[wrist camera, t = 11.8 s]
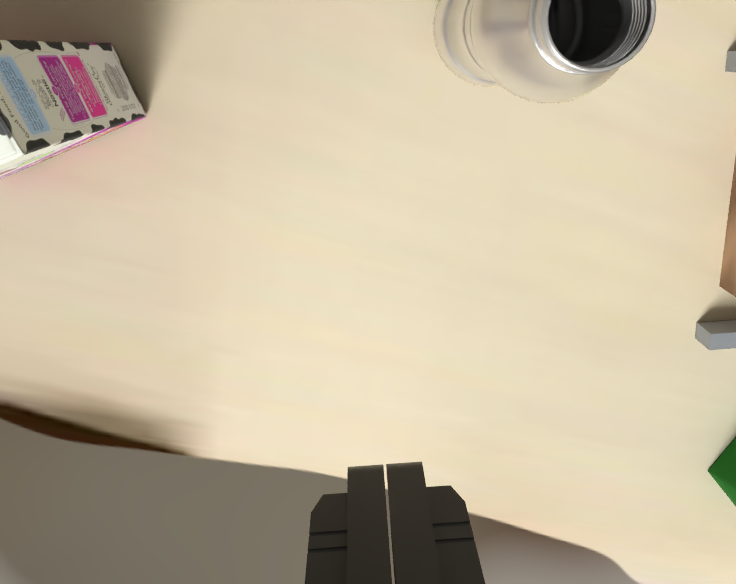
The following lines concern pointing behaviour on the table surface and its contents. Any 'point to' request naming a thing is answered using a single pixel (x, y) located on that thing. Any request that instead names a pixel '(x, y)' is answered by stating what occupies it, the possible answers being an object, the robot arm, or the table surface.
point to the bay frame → (719, 331)
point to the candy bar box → (59, 99)
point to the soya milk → (726, 471)
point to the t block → (730, 245)
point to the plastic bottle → (541, 43)
